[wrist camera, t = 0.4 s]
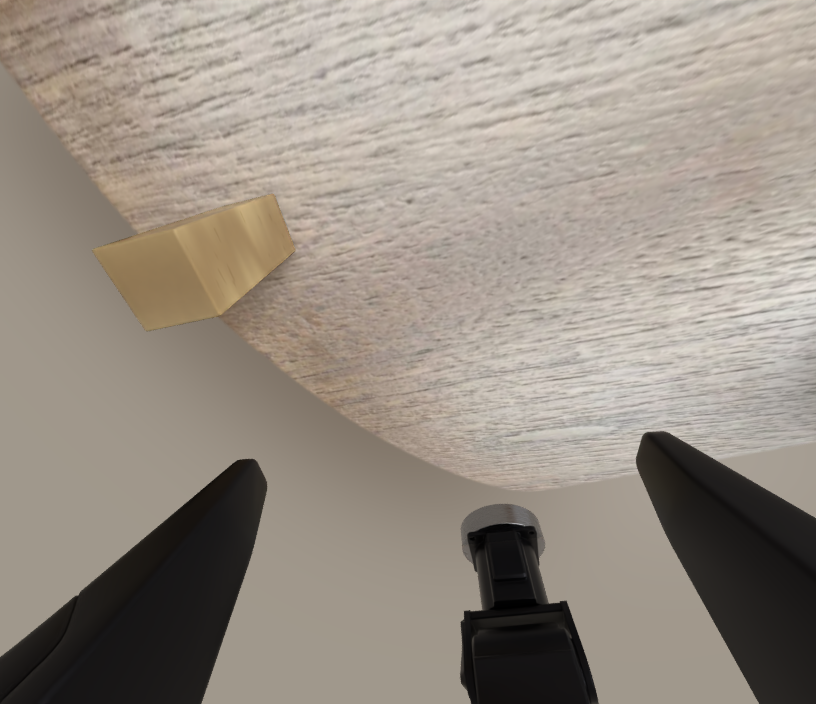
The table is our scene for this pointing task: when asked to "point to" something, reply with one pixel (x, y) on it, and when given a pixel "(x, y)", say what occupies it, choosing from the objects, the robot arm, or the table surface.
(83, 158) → the table surface
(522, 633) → the robot arm
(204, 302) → the stick
